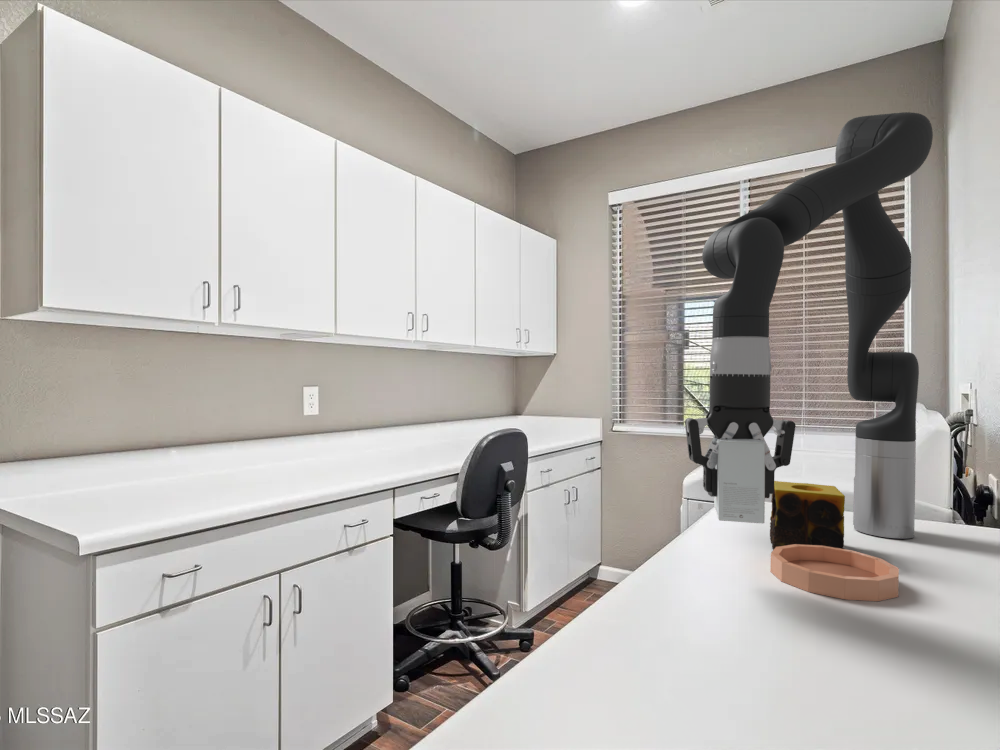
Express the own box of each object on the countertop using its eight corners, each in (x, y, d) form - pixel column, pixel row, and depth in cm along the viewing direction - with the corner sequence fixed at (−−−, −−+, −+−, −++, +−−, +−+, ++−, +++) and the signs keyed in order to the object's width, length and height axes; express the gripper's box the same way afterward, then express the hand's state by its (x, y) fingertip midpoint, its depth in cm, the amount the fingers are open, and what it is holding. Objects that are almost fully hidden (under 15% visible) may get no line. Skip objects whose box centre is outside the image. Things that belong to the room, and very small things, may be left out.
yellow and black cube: (772, 551, 91) (773, 489, 91) (768, 535, 101) (769, 479, 101) (845, 560, 87) (846, 495, 88) (834, 543, 97) (835, 484, 97)
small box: (764, 525, 72) (766, 442, 72) (717, 521, 73) (718, 440, 73) (756, 510, 79) (757, 435, 79) (713, 507, 81) (714, 433, 81)
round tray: (756, 559, 87) (757, 542, 87) (860, 564, 85) (860, 547, 85) (798, 596, 72) (799, 576, 72) (925, 603, 70) (925, 582, 70)
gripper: (784, 372, 79) (782, 492, 79) (678, 371, 81) (677, 488, 81) (808, 372, 72) (806, 504, 72) (691, 371, 73) (689, 500, 73)
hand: (737, 495), depth 76 cm, fingers closed on small box, 6 cm apart
